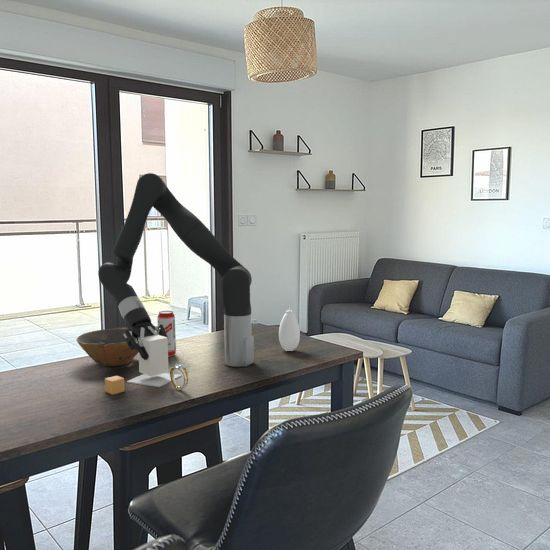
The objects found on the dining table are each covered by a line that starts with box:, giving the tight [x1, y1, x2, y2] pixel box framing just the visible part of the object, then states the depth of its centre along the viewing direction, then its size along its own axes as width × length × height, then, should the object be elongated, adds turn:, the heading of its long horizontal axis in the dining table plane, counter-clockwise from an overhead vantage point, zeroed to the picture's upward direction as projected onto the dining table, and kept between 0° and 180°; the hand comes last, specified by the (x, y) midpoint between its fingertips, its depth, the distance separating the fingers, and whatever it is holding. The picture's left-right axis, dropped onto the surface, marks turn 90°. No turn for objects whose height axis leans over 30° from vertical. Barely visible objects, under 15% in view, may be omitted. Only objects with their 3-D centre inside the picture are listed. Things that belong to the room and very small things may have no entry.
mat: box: [126, 372, 183, 388], centre depth 175 cm, size 12×12×1 cm
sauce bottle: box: [278, 303, 301, 352], centre depth 207 cm, size 8×8×18 cm
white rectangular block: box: [138, 335, 169, 376], centre depth 174 cm, size 6×6×11 cm
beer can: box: [157, 310, 177, 358], centre depth 203 cm, size 6×6×16 cm
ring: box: [169, 362, 189, 391], centre depth 164 cm, size 7×3×8 cm, turn 44°
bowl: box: [76, 327, 139, 367], centre depth 194 cm, size 25×25×10 cm
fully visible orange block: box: [104, 375, 126, 396], centre depth 163 cm, size 4×4×4 cm
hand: (156, 356), depth 173 cm, fingers closed on white rectangular block, 6 cm apart
